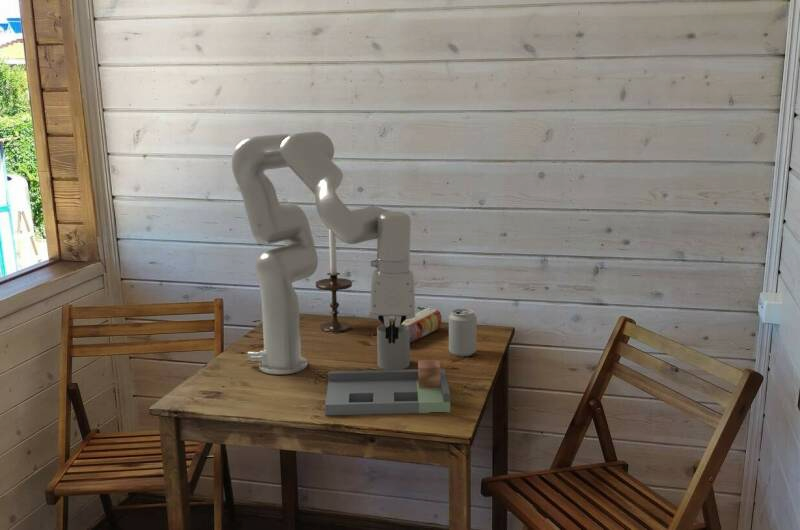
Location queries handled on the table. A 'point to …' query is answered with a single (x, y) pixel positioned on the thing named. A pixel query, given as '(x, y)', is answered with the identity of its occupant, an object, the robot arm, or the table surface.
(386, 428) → the table surface
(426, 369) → the block
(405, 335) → the cup
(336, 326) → the candlestick
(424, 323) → the snack package
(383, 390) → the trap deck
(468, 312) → the can
